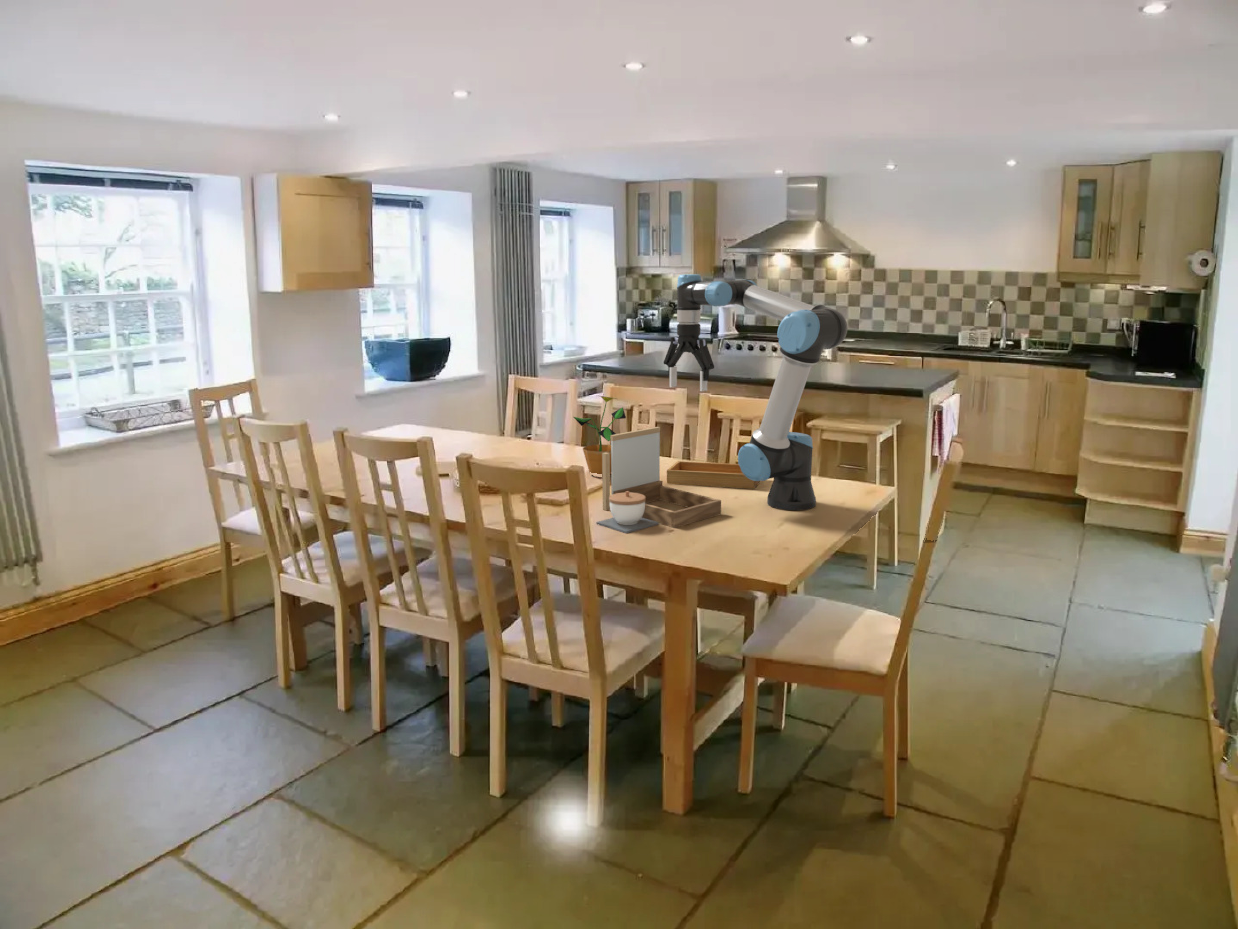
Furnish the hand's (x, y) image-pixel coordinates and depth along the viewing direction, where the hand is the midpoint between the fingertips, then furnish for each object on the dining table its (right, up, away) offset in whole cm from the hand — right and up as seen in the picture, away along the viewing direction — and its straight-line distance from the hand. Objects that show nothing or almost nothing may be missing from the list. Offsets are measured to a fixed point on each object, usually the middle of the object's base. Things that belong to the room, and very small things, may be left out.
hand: (688, 388), depth 303 cm
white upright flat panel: (-18, -37, -7) cm, 42 cm away
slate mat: (-20, -42, -29) cm, 55 cm away
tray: (+11, -31, +21) cm, 39 cm away
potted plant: (-29, -29, +32) cm, 52 cm away
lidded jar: (-20, -42, -29) cm, 55 cm away
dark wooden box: (-8, -39, -17) cm, 44 cm away
